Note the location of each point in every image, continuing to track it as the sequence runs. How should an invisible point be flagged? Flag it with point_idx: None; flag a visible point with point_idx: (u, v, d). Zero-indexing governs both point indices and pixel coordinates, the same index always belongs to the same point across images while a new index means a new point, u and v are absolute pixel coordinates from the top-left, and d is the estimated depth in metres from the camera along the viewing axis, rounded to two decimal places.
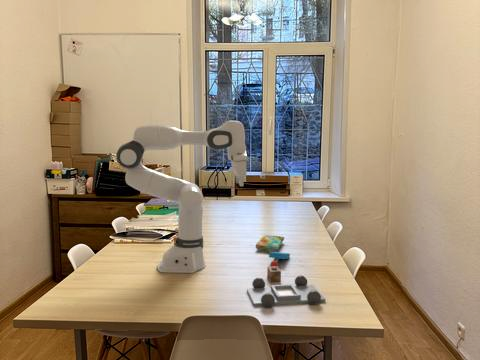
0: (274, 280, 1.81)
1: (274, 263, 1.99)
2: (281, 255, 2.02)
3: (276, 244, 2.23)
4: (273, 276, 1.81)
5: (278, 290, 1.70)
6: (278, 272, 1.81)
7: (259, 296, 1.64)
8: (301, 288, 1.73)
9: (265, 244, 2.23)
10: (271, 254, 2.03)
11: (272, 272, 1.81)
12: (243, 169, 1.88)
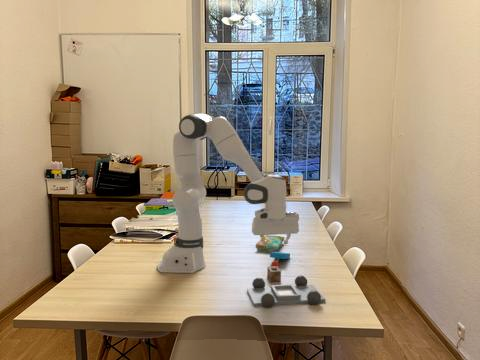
0: (274, 280, 1.81)
1: (275, 263, 1.99)
2: (282, 255, 2.02)
3: (276, 244, 2.23)
4: (273, 276, 1.81)
5: (278, 290, 1.70)
6: (278, 272, 1.81)
7: (259, 296, 1.64)
8: (301, 288, 1.73)
9: None
10: (272, 254, 2.03)
11: (272, 272, 1.81)
12: (253, 226, 1.79)
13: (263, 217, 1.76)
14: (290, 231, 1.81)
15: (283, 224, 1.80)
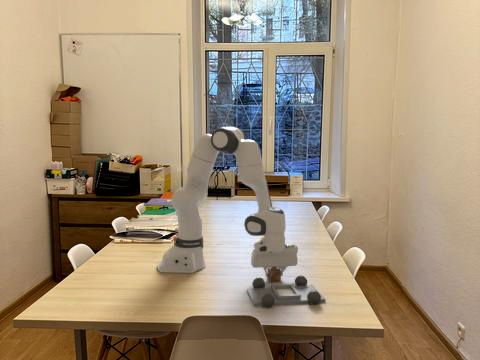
0: (274, 280, 1.81)
1: None
2: None
3: None
4: (273, 276, 1.81)
5: (278, 290, 1.70)
6: (278, 272, 1.81)
7: (259, 296, 1.64)
8: (301, 288, 1.73)
9: None
10: None
11: (272, 272, 1.81)
12: (252, 259, 1.81)
13: (262, 250, 1.78)
14: (289, 263, 1.83)
15: (281, 257, 1.82)
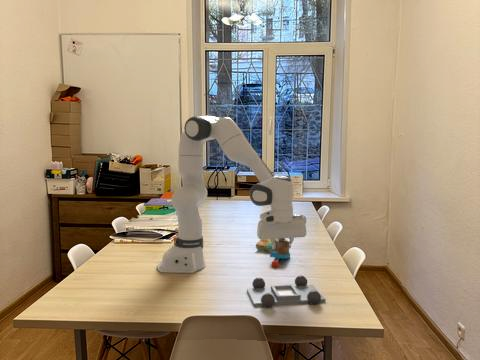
0: (282, 252, 1.71)
1: (275, 263, 1.99)
2: (282, 255, 2.02)
3: None
4: (281, 248, 1.70)
5: (278, 290, 1.70)
6: (286, 243, 1.70)
7: (259, 296, 1.64)
8: (301, 288, 1.73)
9: (265, 244, 2.24)
10: (272, 254, 2.04)
11: (280, 243, 1.70)
12: (258, 230, 1.70)
13: (269, 220, 1.68)
14: (298, 234, 1.72)
15: (289, 228, 1.71)
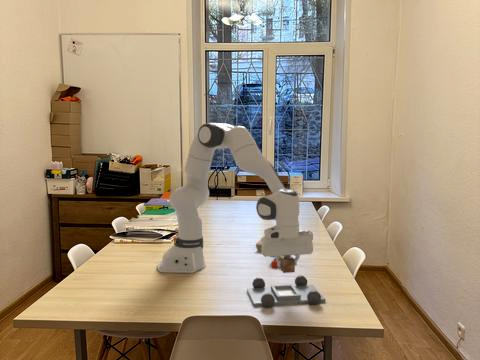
0: (287, 270, 1.62)
1: (274, 263, 1.99)
2: None
3: None
4: (286, 265, 1.62)
5: (278, 290, 1.70)
6: (292, 261, 1.62)
7: (259, 296, 1.64)
8: (301, 288, 1.73)
9: None
10: None
11: (285, 261, 1.62)
12: (262, 246, 1.62)
13: (274, 237, 1.59)
14: (304, 251, 1.64)
15: (295, 244, 1.63)
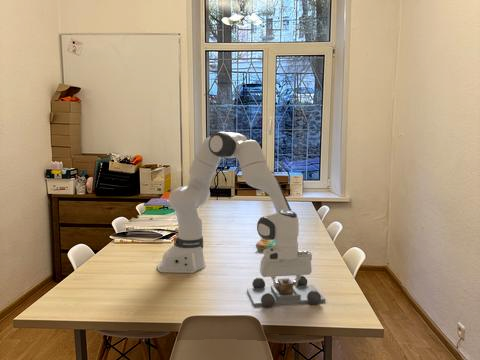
0: (286, 294, 1.64)
1: None
2: None
3: None
4: (284, 290, 1.63)
5: None
6: (290, 285, 1.63)
7: (259, 296, 1.64)
8: (301, 288, 1.73)
9: (265, 244, 2.24)
10: None
11: (283, 285, 1.63)
12: (261, 267, 1.63)
13: (273, 258, 1.60)
14: (302, 272, 1.65)
15: (294, 265, 1.64)
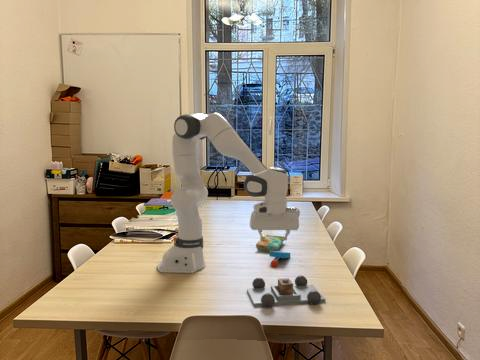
0: (286, 294, 1.64)
1: (274, 262, 2.00)
2: (281, 254, 2.03)
3: (277, 244, 2.23)
4: (284, 290, 1.63)
5: None
6: (290, 285, 1.63)
7: (259, 296, 1.64)
8: (301, 288, 1.73)
9: (265, 244, 2.24)
10: (271, 253, 2.05)
11: (283, 285, 1.63)
12: (251, 220, 1.71)
13: (262, 211, 1.68)
14: (290, 227, 1.72)
15: (282, 220, 1.72)
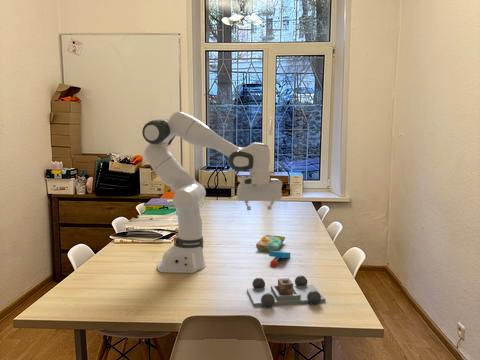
0: (286, 294, 1.64)
1: (274, 262, 2.00)
2: (281, 254, 2.03)
3: (277, 244, 2.23)
4: (284, 290, 1.63)
5: None
6: (290, 285, 1.63)
7: (259, 296, 1.64)
8: (301, 288, 1.73)
9: (265, 244, 2.24)
10: (271, 253, 2.05)
11: (283, 285, 1.63)
12: (237, 192, 1.86)
13: (247, 183, 1.83)
14: (274, 197, 1.88)
15: (266, 190, 1.87)
